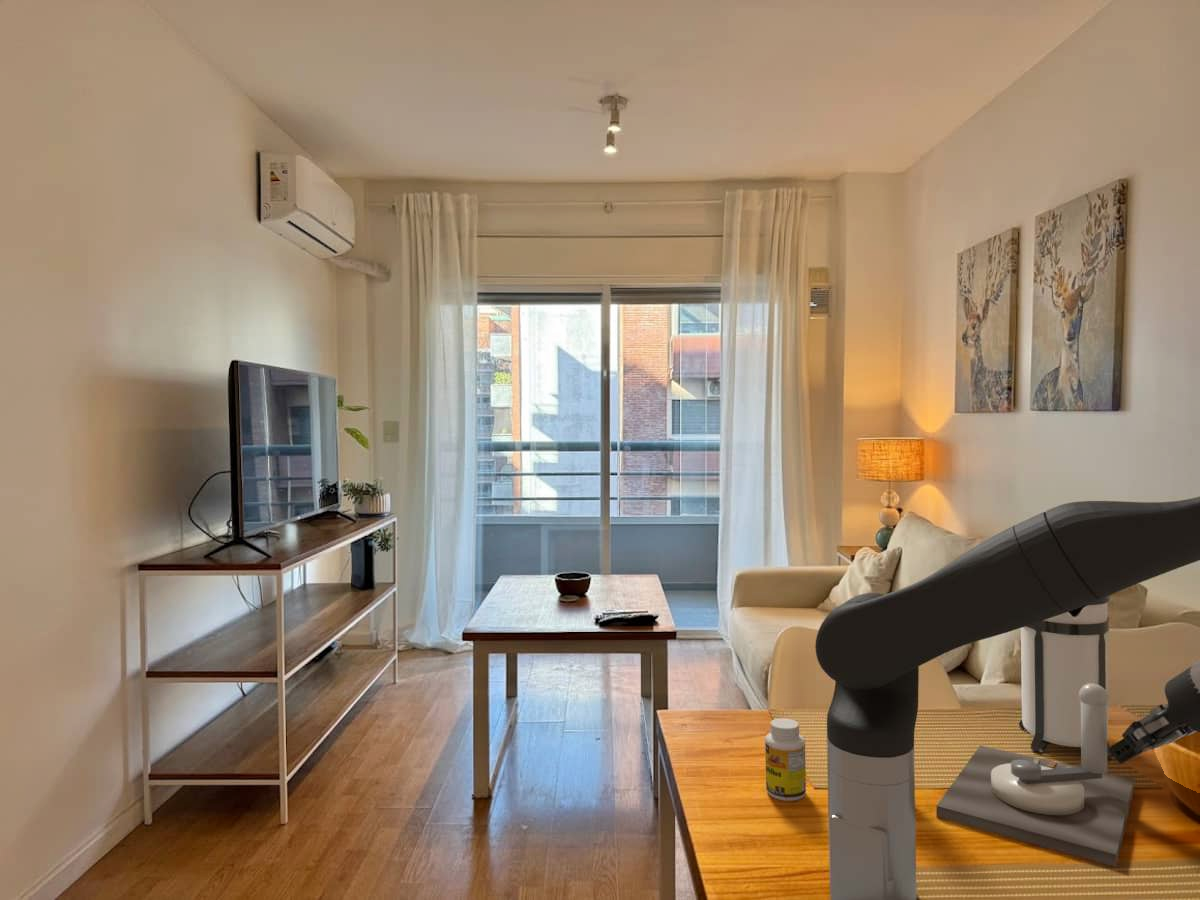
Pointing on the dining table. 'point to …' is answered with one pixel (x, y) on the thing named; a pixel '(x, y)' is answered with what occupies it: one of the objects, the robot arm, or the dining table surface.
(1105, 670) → the coffee press
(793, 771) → the supplement bottle
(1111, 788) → the dial board
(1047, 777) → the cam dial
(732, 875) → the dining table surface
